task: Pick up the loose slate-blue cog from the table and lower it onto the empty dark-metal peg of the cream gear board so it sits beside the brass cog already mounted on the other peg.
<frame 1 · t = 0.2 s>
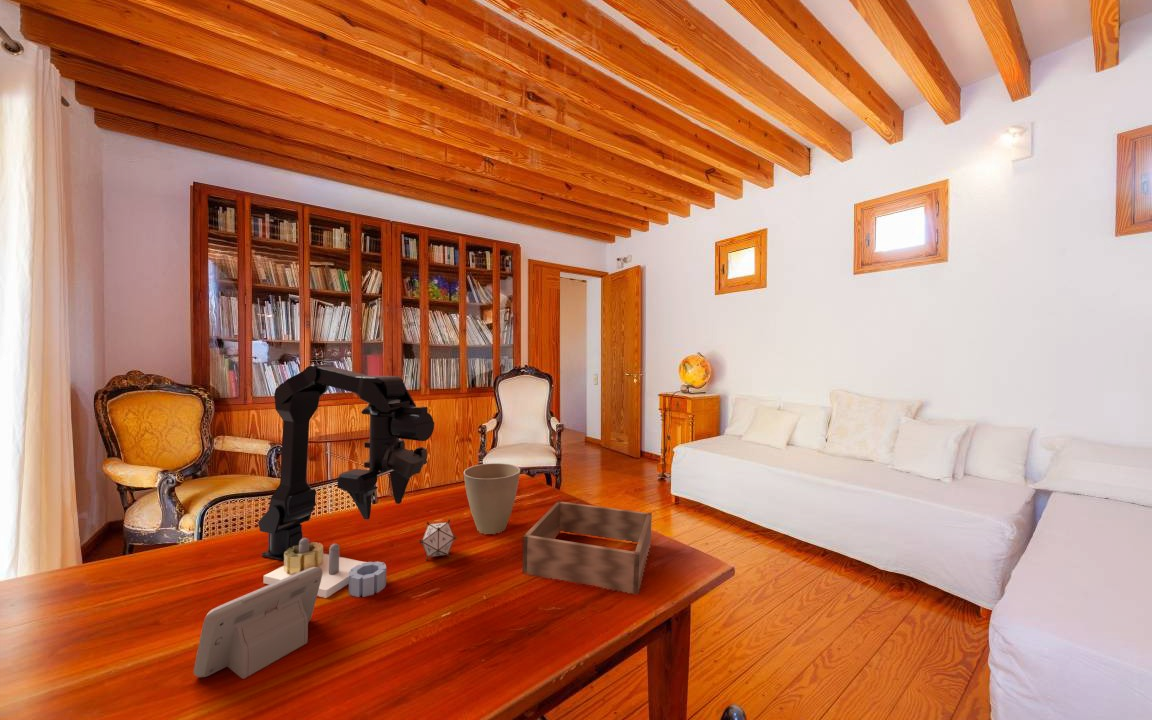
hand: (383, 510, 87), 14 cm above the table, fingers open, 9 cm apart
digital clock: (263, 652, 65), on the table
gear board: (318, 576, 87), on the table
slate gear: (367, 587, 84), on the table
game die: (437, 557, 97), on the table
plant pot: (490, 529, 112), on the table
brass gear: (303, 557, 88), point 3 cm above the table, hinge at 0.0°
open rectangular box frame: (591, 557, 98), on the table
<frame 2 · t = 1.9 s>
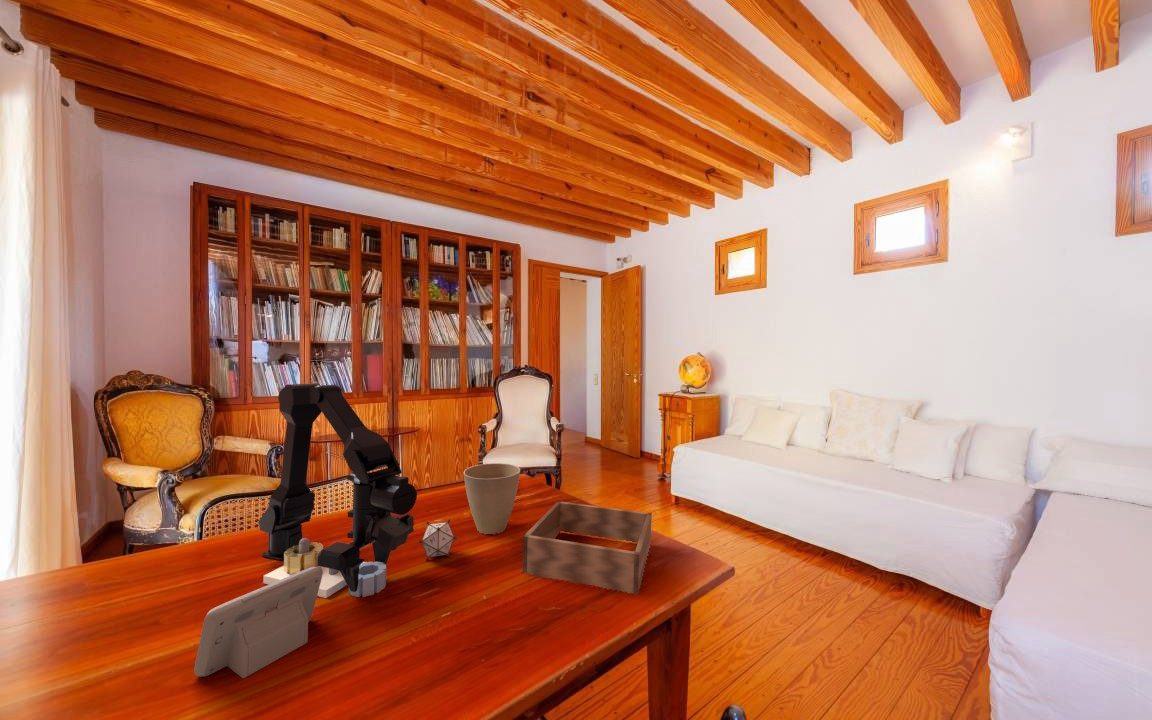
hand: (367, 582, 84), 1 cm above the table, fingers closed on slate gear, 7 cm apart
slate gear: (367, 587, 84), on the table, touching gripper
everything else where it was.
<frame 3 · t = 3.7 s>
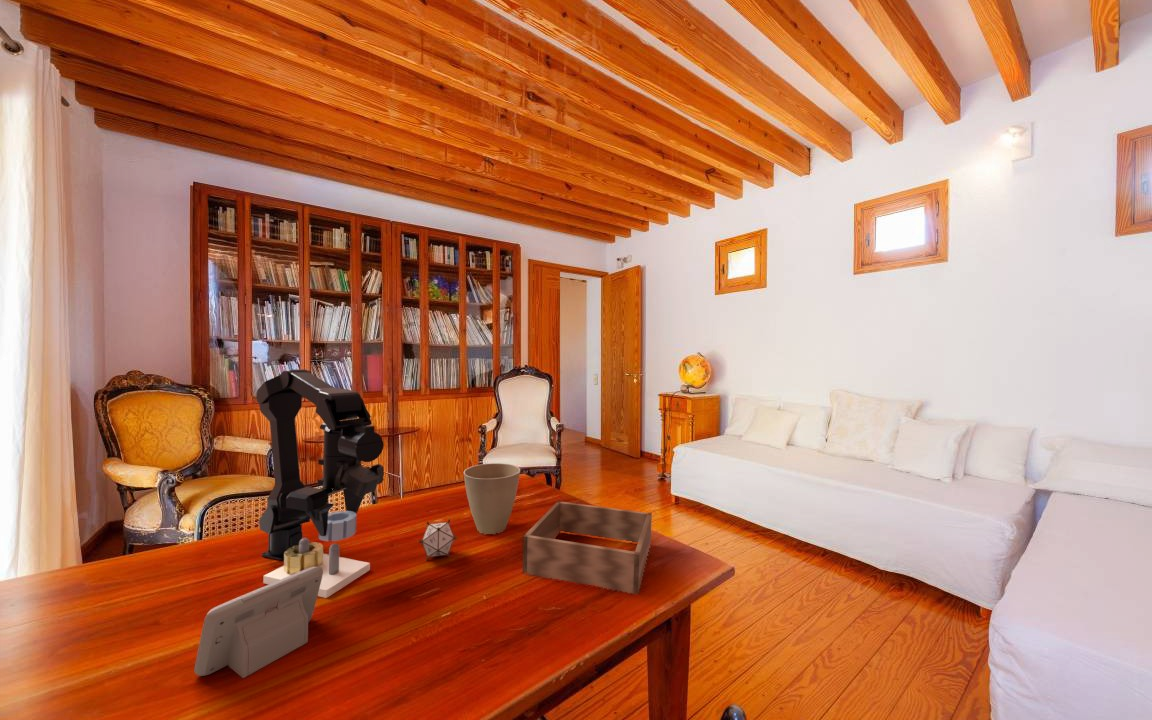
hand: (337, 528, 86), 11 cm above the table, fingers closed on slate gear, 7 cm apart
slate gear: (337, 533, 86), point 10 cm above the table, touching gripper
everything else where it was.
when the fingers open (4 cm above the table, at t = 5.8 s): slate gear drops 1 cm, resting on gear board.
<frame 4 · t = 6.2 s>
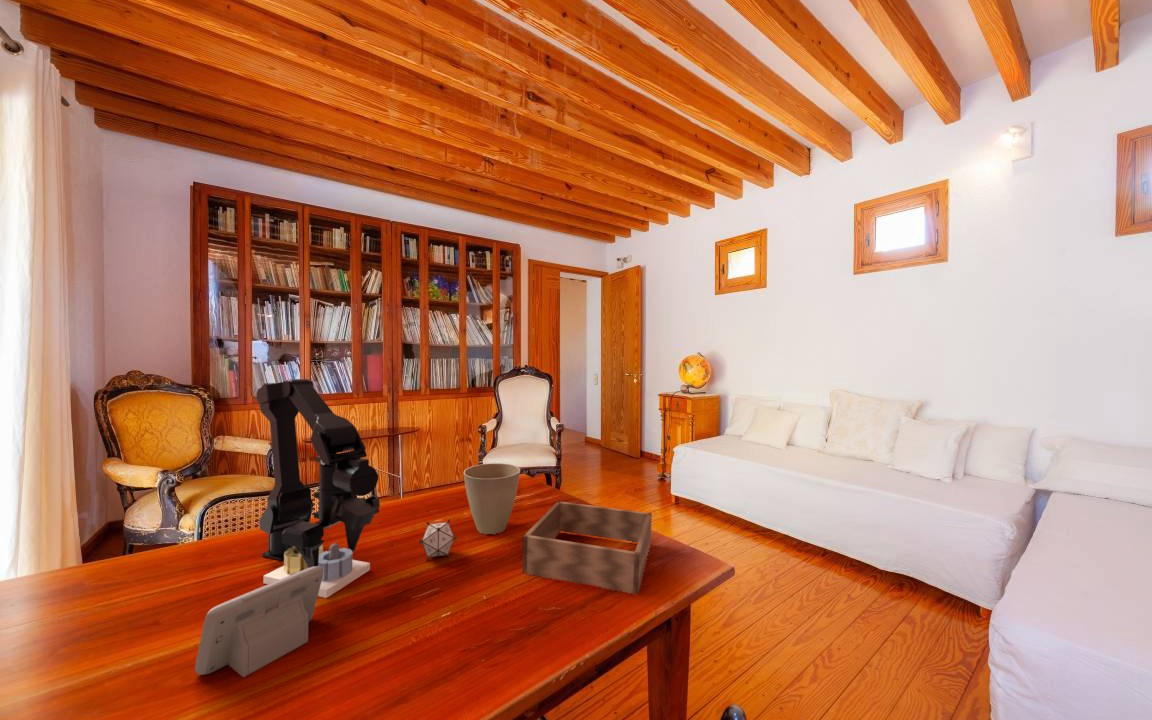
hand: (334, 561, 86), 4 cm above the table, fingers open, 9 cm apart
slate gear: (333, 572, 86), point 1 cm above the table, touching gear board
everything else where it was.
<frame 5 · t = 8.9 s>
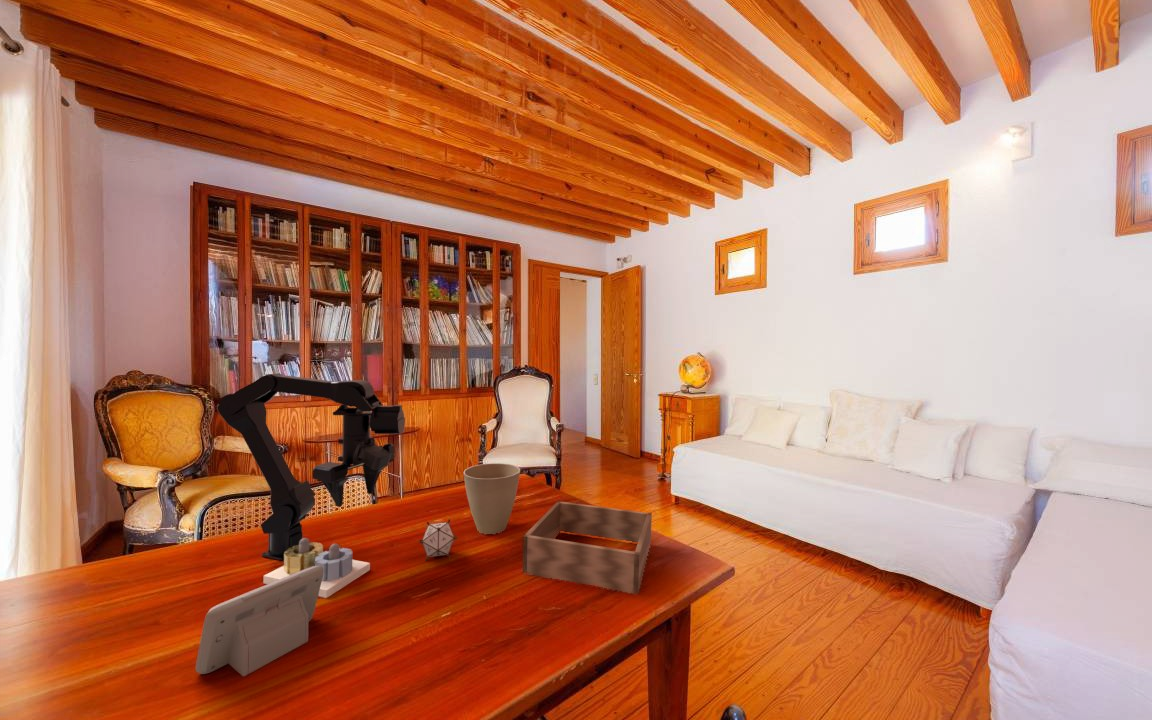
hand: (355, 499, 98), 12 cm above the table, fingers open, 9 cm apart
nothing on the table moved.
at the end: slate gear 0.0 cm from the target spot on the gear board, point 1.5 cm above the gear board's base; slate gear tilted 0°; the gripper is holding nothing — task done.
